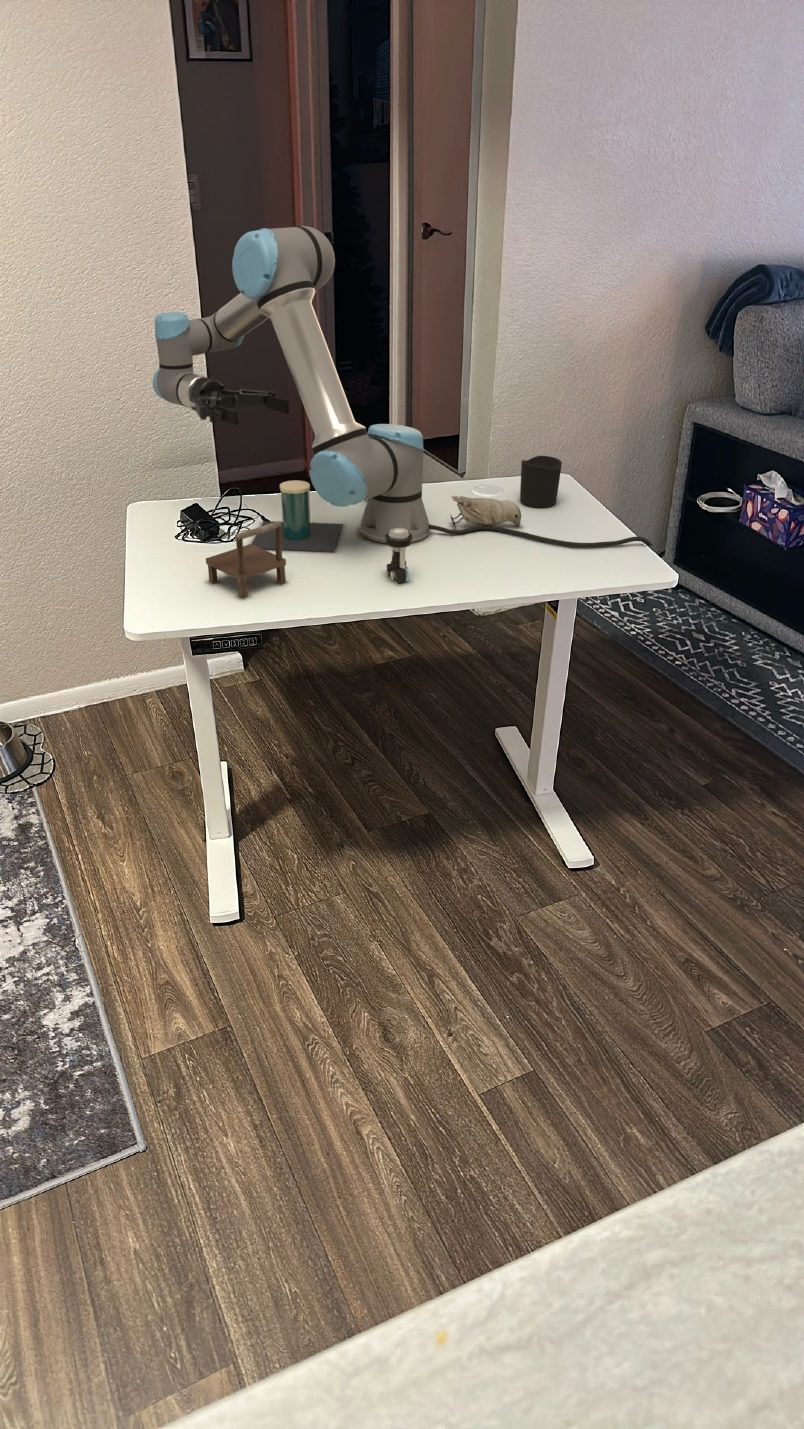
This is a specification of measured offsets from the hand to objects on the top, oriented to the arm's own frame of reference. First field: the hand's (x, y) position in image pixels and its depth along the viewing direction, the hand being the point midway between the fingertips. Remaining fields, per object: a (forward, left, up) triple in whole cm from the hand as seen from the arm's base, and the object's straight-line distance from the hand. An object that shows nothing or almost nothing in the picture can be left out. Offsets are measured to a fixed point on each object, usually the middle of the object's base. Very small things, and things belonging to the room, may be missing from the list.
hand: (262, 412), depth 200 cm
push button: (-30, +26, -25) cm, 47 cm away
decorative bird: (-48, -4, -25) cm, 55 cm away
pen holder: (-61, -22, -25) cm, 70 cm away
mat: (-7, +6, -25) cm, 27 cm away
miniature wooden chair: (-1, +31, -25) cm, 40 cm away
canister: (-7, +6, -25) cm, 26 cm away
